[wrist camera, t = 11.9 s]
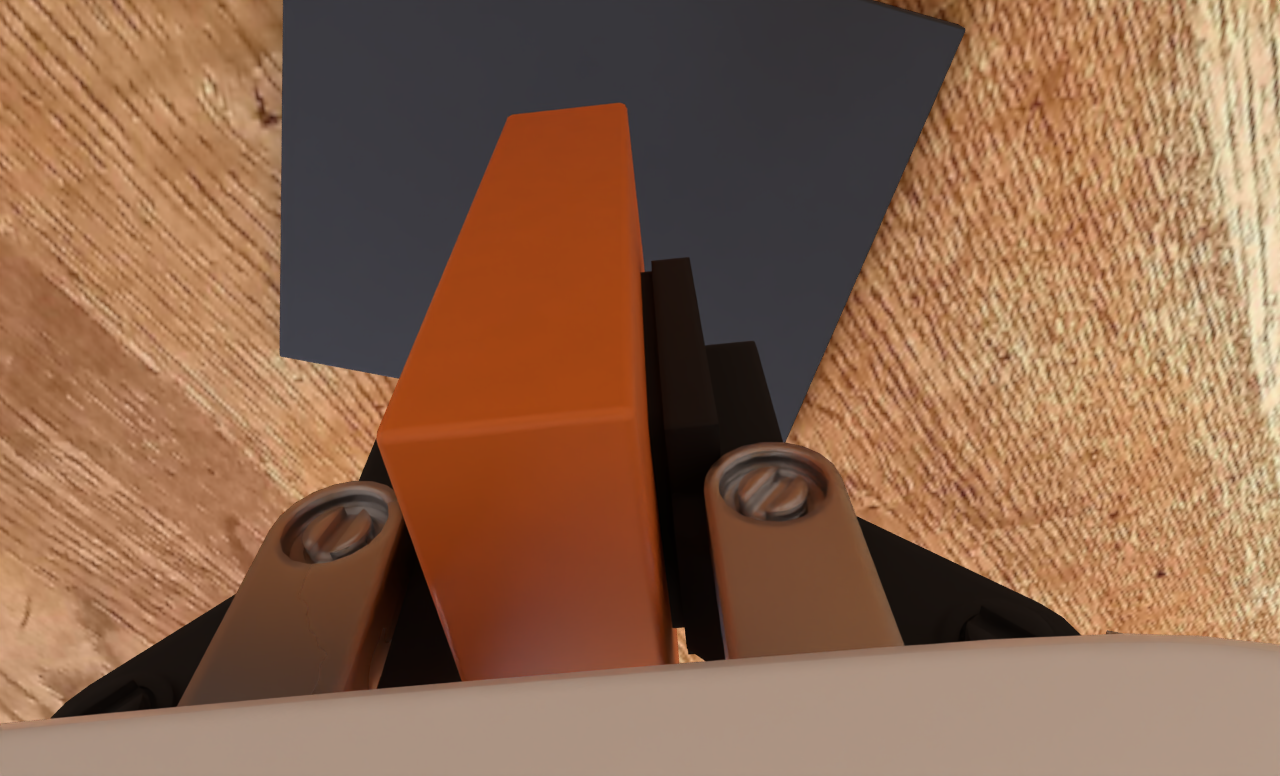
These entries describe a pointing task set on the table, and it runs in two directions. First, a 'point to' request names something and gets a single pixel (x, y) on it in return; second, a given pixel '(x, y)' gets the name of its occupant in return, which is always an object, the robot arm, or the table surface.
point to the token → (538, 415)
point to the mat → (660, 142)
